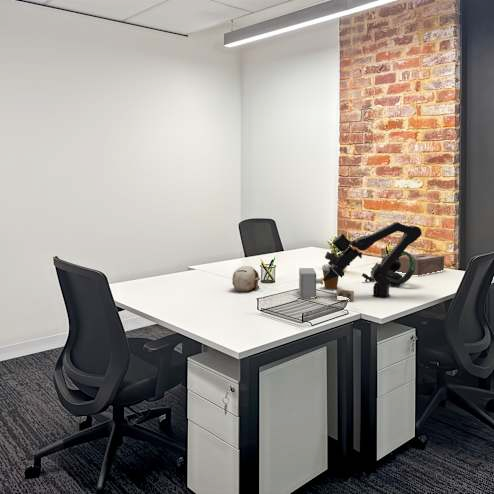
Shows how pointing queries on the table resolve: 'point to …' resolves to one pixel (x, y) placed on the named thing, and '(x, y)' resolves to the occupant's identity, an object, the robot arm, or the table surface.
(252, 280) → the coin bank
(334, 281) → the disposable coffee cup
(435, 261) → the tissue box cover
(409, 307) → the table surface
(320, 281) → the plunger
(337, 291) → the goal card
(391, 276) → the headset
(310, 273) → the block
